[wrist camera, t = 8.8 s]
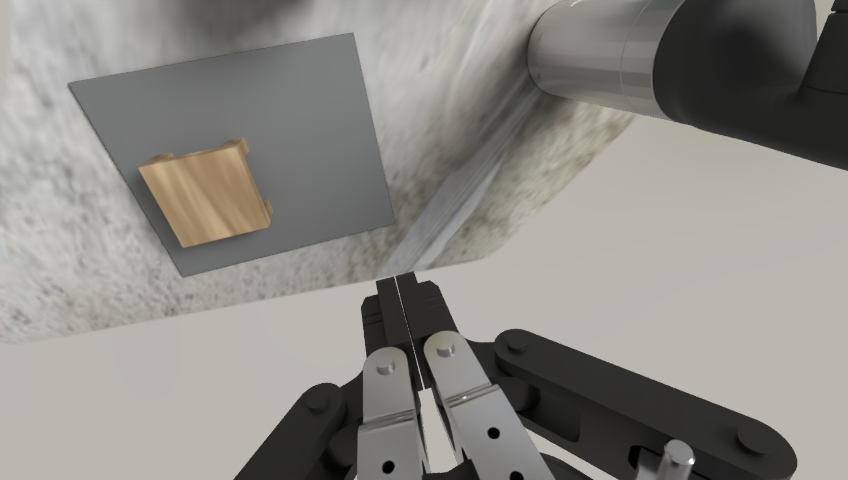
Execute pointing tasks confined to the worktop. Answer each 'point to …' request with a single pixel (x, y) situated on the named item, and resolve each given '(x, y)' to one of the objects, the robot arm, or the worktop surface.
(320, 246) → the worktop surface
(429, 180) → the worktop surface
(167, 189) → the wooden bench
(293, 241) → the mat
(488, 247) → the worktop surface
